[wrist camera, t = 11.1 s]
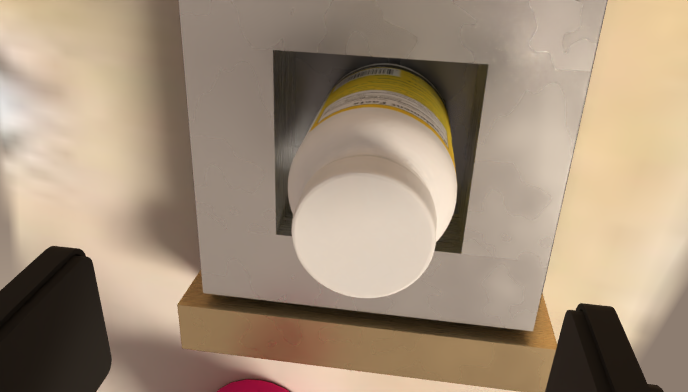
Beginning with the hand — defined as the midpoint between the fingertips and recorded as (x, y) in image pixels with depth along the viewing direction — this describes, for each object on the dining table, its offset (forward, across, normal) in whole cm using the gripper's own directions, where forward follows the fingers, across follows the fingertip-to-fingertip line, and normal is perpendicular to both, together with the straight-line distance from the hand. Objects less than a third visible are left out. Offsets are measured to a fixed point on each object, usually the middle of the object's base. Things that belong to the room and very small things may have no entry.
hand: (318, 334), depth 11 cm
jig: (+15, 0, +1) cm, 15 cm away
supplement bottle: (+15, 0, +1) cm, 15 cm away
